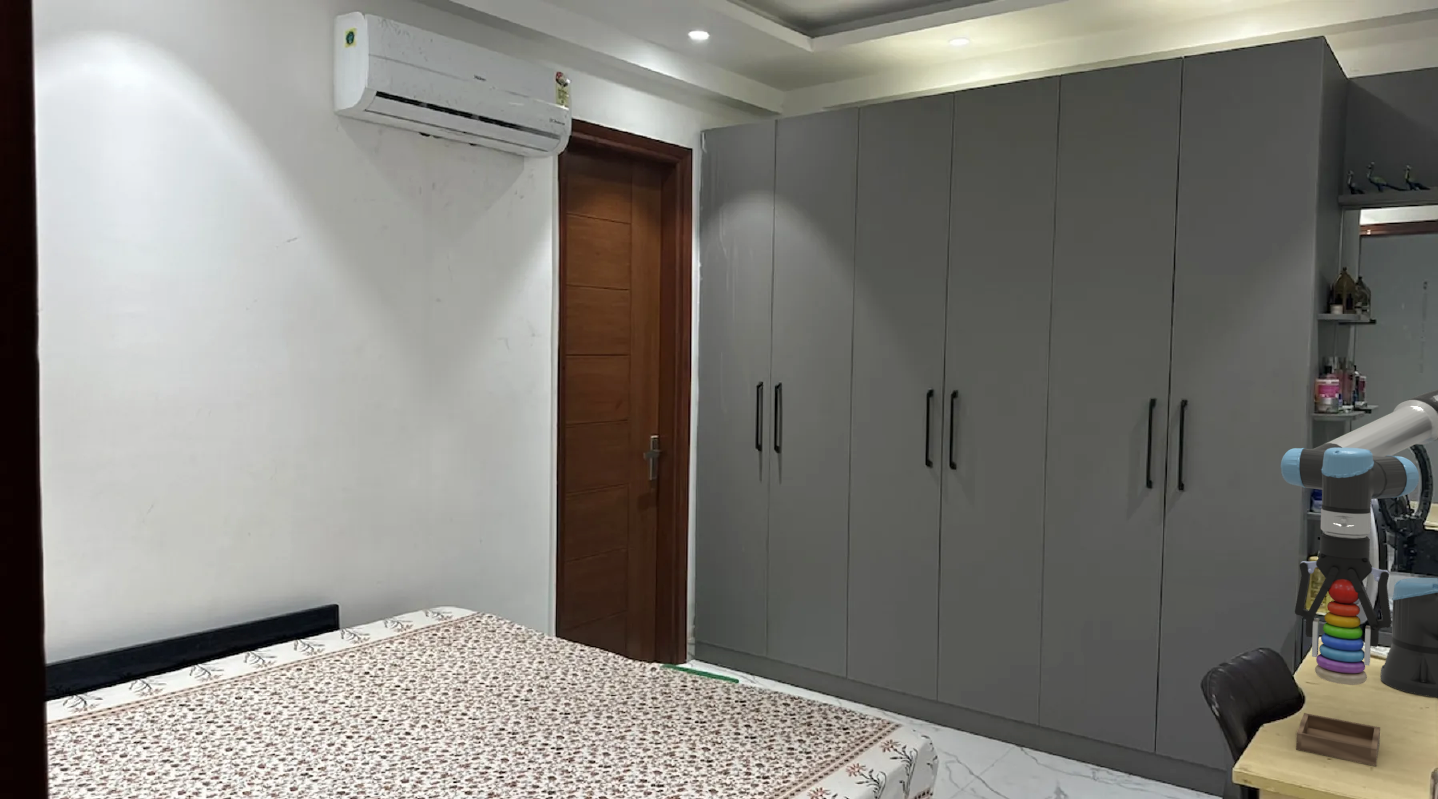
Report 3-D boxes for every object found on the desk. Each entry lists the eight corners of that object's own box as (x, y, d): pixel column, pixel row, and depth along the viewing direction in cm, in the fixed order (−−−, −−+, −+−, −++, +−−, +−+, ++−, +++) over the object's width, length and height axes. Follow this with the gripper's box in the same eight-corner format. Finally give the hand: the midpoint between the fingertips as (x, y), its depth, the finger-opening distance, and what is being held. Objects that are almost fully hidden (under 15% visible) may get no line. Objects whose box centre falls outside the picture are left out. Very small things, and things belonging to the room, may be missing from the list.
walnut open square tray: (1303, 728, 186) (1304, 712, 185) (1379, 743, 178) (1380, 727, 178) (1296, 749, 176) (1296, 733, 176) (1375, 766, 169) (1376, 749, 169)
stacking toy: (1375, 688, 172) (1379, 583, 170) (1324, 684, 173) (1328, 581, 172) (1355, 673, 179) (1359, 572, 178) (1307, 670, 181) (1311, 570, 180)
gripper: (1278, 530, 178) (1274, 653, 179) (1413, 544, 166) (1408, 675, 167) (1283, 524, 184) (1279, 643, 185) (1414, 537, 172) (1409, 664, 173)
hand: (1340, 658), depth 176 cm, fingers closed on stacking toy, 7 cm apart
